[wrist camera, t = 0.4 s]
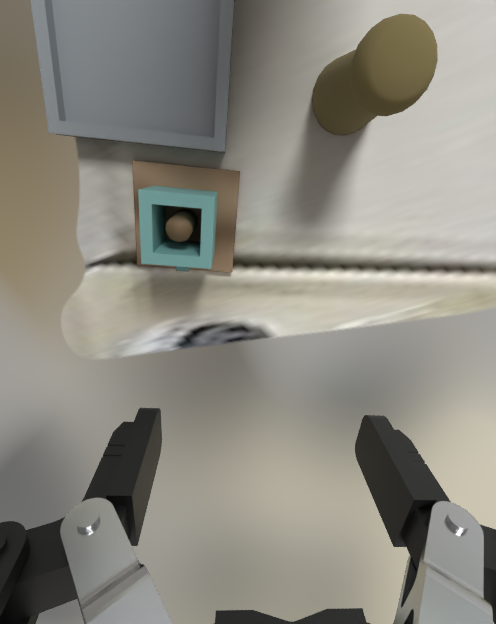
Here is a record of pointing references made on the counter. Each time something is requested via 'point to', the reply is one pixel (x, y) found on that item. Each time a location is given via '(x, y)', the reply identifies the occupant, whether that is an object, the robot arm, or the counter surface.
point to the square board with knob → (188, 220)
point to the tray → (136, 69)
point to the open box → (154, 227)
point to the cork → (376, 75)
